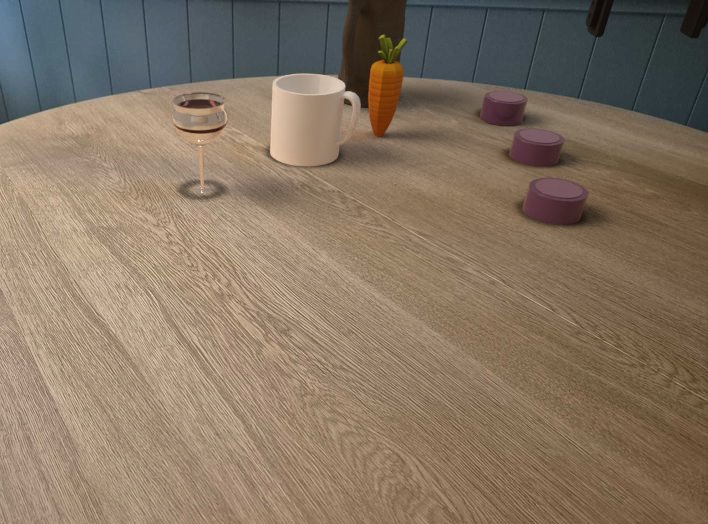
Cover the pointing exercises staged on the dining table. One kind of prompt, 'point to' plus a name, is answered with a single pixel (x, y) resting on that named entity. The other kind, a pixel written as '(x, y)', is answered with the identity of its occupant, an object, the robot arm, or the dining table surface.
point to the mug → (309, 119)
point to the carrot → (385, 86)
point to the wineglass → (200, 122)
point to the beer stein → (368, 40)
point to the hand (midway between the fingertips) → (641, 34)
